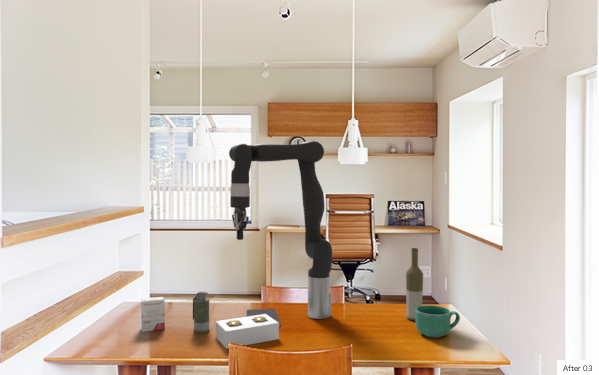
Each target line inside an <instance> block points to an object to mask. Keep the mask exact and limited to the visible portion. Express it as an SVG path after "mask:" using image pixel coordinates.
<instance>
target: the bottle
mask: <svg viewBox="0 0 599 375" xmlns="http://www.w3.org/2000/svg"><path fill="white" fill-rule="evenodd" d="M410 252H411V266H410V267H409V268H408V270H406V272H405V288H406V289H405V292H406V295H405V296H406V301H405V303H406V319H407V320H409V321H412V322H416V321H415V311H416V307H418V306H423V296H424V295H423V291H424V290H423V289H424V288H423V287H424V286H423V285H424V273H423V271H422V270H421V269H420V268H419V248H417V247H412V248H411V251H410Z"/></svg>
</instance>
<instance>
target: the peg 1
mask: <svg viewBox="0 0 599 375" xmlns="http://www.w3.org/2000/svg"><path fill="white" fill-rule="evenodd" d="M240 324H241V322H240V321H238V320H232V321H229V322H228V325H229V327H234V326H239V325H240Z"/></svg>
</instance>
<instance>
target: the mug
mask: <svg viewBox="0 0 599 375" xmlns="http://www.w3.org/2000/svg"><path fill="white" fill-rule="evenodd" d="M453 315H455V319H454V321H453V322H452V323H451V318H452V316H453ZM460 320H461V316H460V314H459V313H458V312H457V311H456V310H453V311H452V310H449V308H445V307H444V306H439V305H430V304H429V305H428V304H427V305H426V304H424V305H422V306H418V307H416V311H415V321H414V322H415V327H416V329H417V331H418V332H419V333H421V334H422V335H423V336H425V337H427V338H432V339H433V338H434V339H437V338H442V337H443V336H446V335H447V334H448V333H449V332H450V331H451V330H452V329H453V328H455V327H456V326H457V325H459V323H460Z"/></svg>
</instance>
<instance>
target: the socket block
mask: <svg viewBox="0 0 599 375" xmlns="http://www.w3.org/2000/svg"><path fill="white" fill-rule="evenodd" d="M255 317H265V318H266V321H265V322H259V323H255V321H254V318H255ZM232 320H238V321H240V322H241V324H240V325H239V326H234V327H229V325H228V322H229V321H232ZM279 328H280V326H279V323H278V322H277V321H275V320H274V319H272V318H271V317H270V316H268V315H267V314H261V315H255V316H248V317H247V316H243V317H235V318H228V319H223V320H216V321H215V339H217V341H218V342H219V343H220V344H221V345H222V347H224V348H225V349H229V348H228V344H229V343H236V344H242V345H244V346H247V345H254V344H258V343H259V344H260V343H264V342H266V343H267V342H271V341H276V340H280V337H279V336H280V332H279V331H280V329H279Z"/></svg>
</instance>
